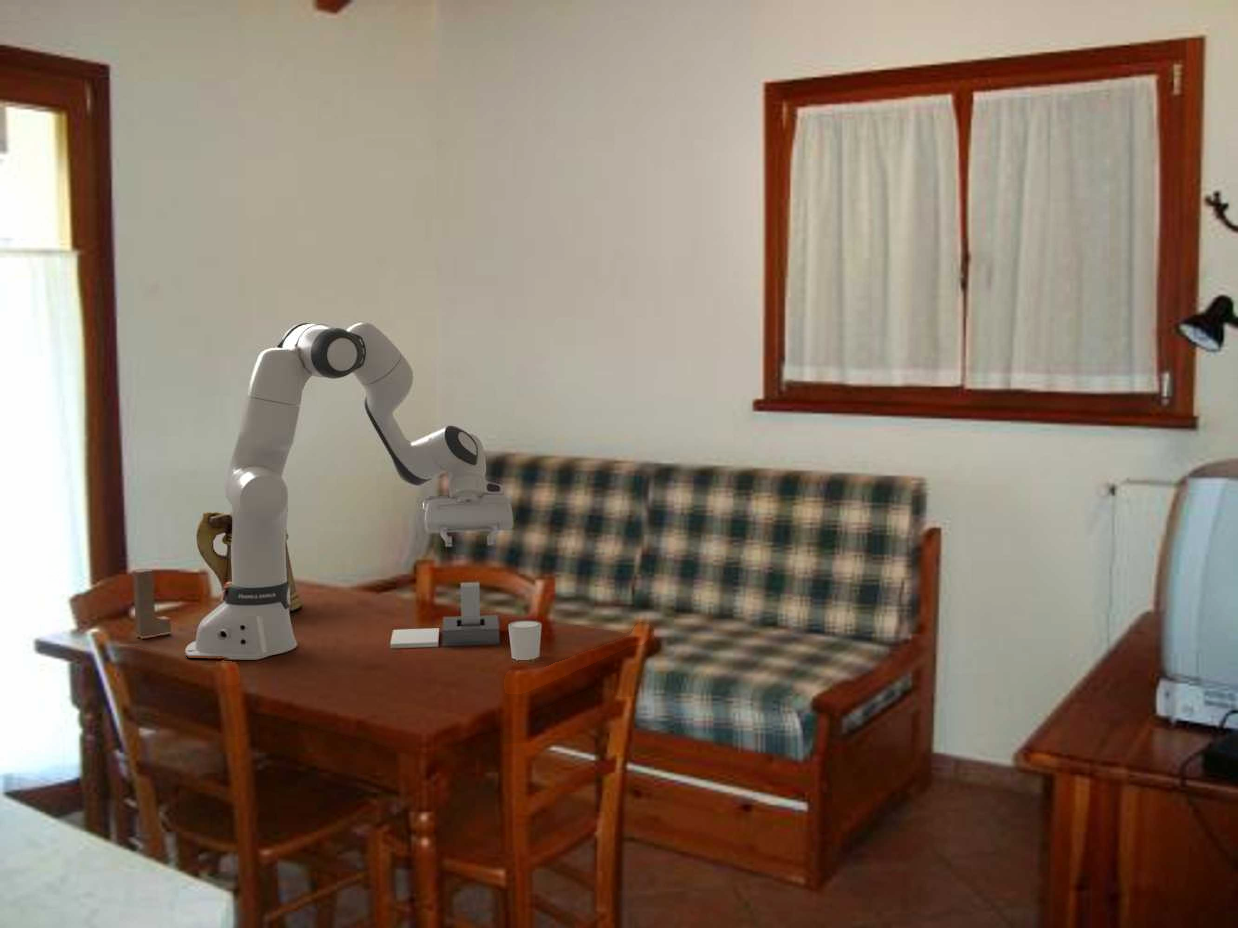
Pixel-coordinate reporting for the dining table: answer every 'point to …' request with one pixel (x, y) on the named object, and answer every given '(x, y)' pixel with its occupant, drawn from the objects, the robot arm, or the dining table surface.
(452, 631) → the metal socket
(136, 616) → the wooden block
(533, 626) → the white cup
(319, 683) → the dining table surface
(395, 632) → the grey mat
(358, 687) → the dining table surface
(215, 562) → the tankard
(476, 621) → the steel peg
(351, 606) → the dining table surface
